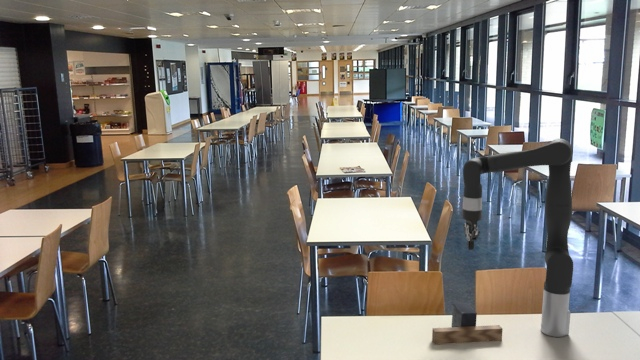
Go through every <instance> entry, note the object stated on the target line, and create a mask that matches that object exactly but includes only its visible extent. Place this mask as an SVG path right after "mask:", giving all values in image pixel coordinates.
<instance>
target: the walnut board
mask: <svg viewBox="0 0 640 360" xmlns="http://www.w3.org/2000/svg"><path fill="white" fill-rule="evenodd" d="M431 334H432V336H431V340H432V342H433V344H434V345H449V344H467V343H468V344H469V343H470V344H471V343H487V342H502V341H503V327H502V326H501V325H499V324H493V325H476V326H469V327H452V326H450V327H432V333H431Z"/></svg>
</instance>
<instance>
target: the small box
mask: <svg viewBox="0 0 640 360" xmlns="http://www.w3.org/2000/svg"><path fill="white" fill-rule="evenodd" d="M477 313H478V312H476V311H475V309H474V308H473V307H472V306H471V305H470V304H469V303H468V302H465V301H464V302H452V313H451V314H452V315H451V316H452V317H451V327H469V326H477Z"/></svg>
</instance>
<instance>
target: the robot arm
mask: <svg viewBox="0 0 640 360" xmlns="http://www.w3.org/2000/svg"><path fill="white" fill-rule="evenodd" d="M573 153H574V150H573V146H572V144H571V143H570V142H569V141H568V140H566V139H564V138H556V139H553V140H551V141H550V142H549V143H548V144H546V145H543V146H542V145H541V146H539V147H536V148H533V149H528V150H517V151H508V152H507V151H506V152H502V153H497V154H493V155H487V156H486V155H485V156H478V157H473V158H471V159H469V160H467V161H465V163H464V164H463V166H462V167H463V168H462V177H463V178H462V179H463V187H464V188H463V199H462V211H461V212H462V213H461V215H462V217H461V219H462V220H464V221H465V223H463V224H462V225H463V230H464V231H463V232H464V237H465V238H466V240H467V243H466V244H467V246H466V247H467V248H466V249H467V250H470V251H471V250H474V247H475V242H477V240H478V238H479V236H480V234H481V231H480V230H478V229H479V228H478V227H479V226H478V222H479V221H481V220H482V215H483V214H482V213H483V197H482V196H483V185H482V183H481V177H482V176H481V175H483V174H488V173H503V172H508V171H513V170H519V169H523V168H529V167H530V168H531V167H539V166H548V179H547V186H546V192H545V200H544V201H545V203H544V205H545V206H544V207H545V208H544V210H545V211H544V212H545V227H546V245H545V254H544V263H545V266H546V271H545V272H546V274H545V281H544V283H543V292H542V293H543V294H542V295H543V296H542V309H541V322H540V331H541V333H543V334H544V335H547V336H548V337H552V338H553V337H554V338H562V337H565V336H568V335H569V334H570V323H571V310H569V309H570V307H569V305H570V294H571V293H570V291H571V287H572V283H573V277H574V276H573V275H574V261H573V258H572V257H571V255H570V252H569V251H570V250H569V243H568V242H569V241H568V234H569V230H570V226H571V223H572V216H573V195H572V194H573V193H572V185H571V166H572V159H573V158H572V157H573Z"/></svg>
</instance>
